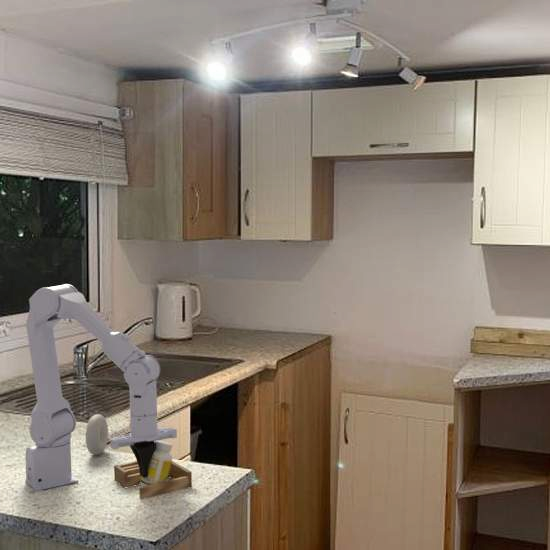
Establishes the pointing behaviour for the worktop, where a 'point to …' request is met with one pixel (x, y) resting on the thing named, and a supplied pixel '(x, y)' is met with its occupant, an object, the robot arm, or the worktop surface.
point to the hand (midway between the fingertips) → (145, 475)
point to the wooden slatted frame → (131, 476)
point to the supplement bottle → (158, 464)
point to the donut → (96, 434)
